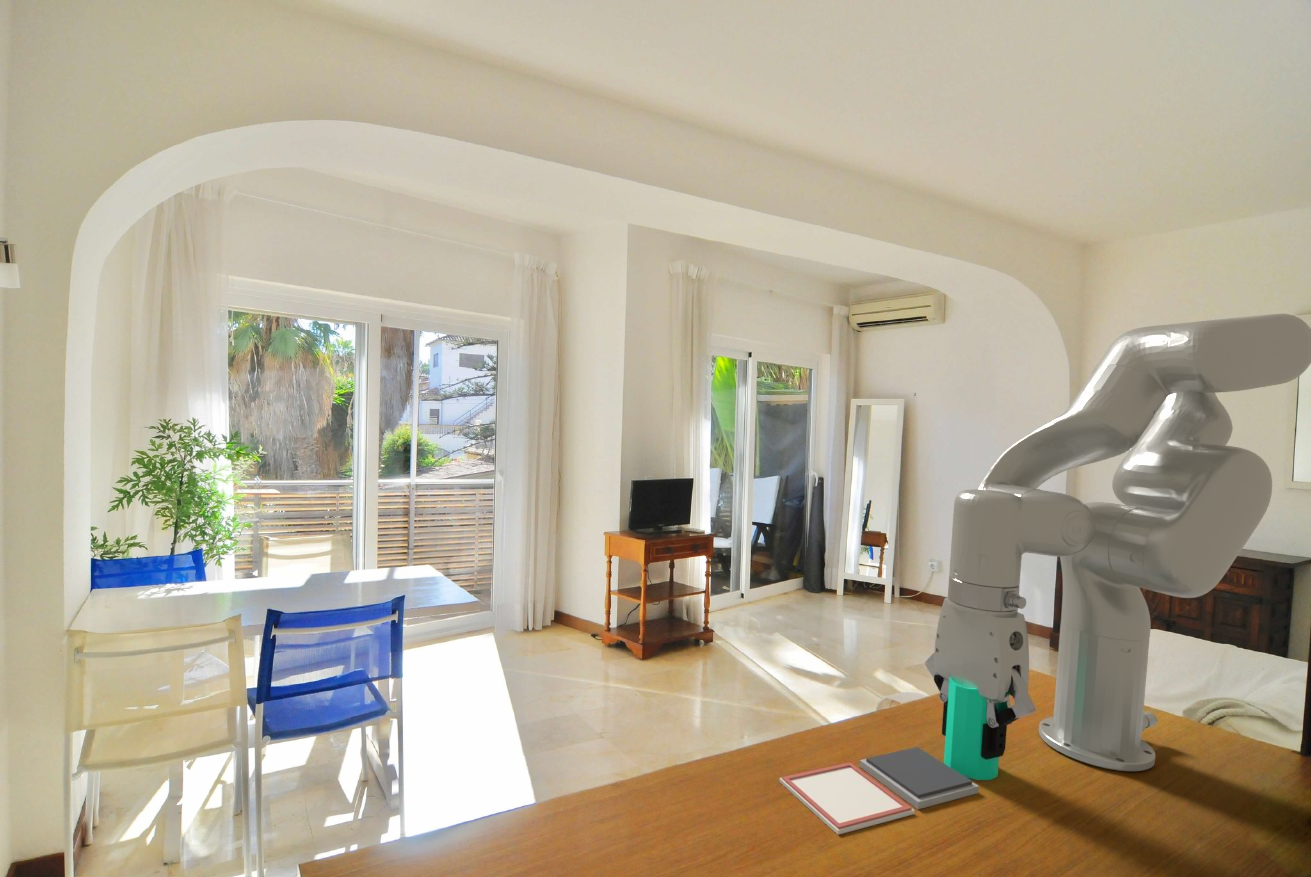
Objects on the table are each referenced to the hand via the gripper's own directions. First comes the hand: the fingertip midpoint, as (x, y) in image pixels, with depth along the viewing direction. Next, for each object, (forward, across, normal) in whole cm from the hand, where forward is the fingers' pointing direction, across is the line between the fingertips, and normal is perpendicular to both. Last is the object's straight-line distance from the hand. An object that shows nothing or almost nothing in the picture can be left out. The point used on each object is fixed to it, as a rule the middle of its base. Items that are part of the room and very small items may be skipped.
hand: (972, 743), depth 81 cm
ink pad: (+3, 0, +8) cm, 9 cm away
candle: (+3, 0, 0) cm, 3 cm away
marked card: (+3, 0, +19) cm, 19 cm away
